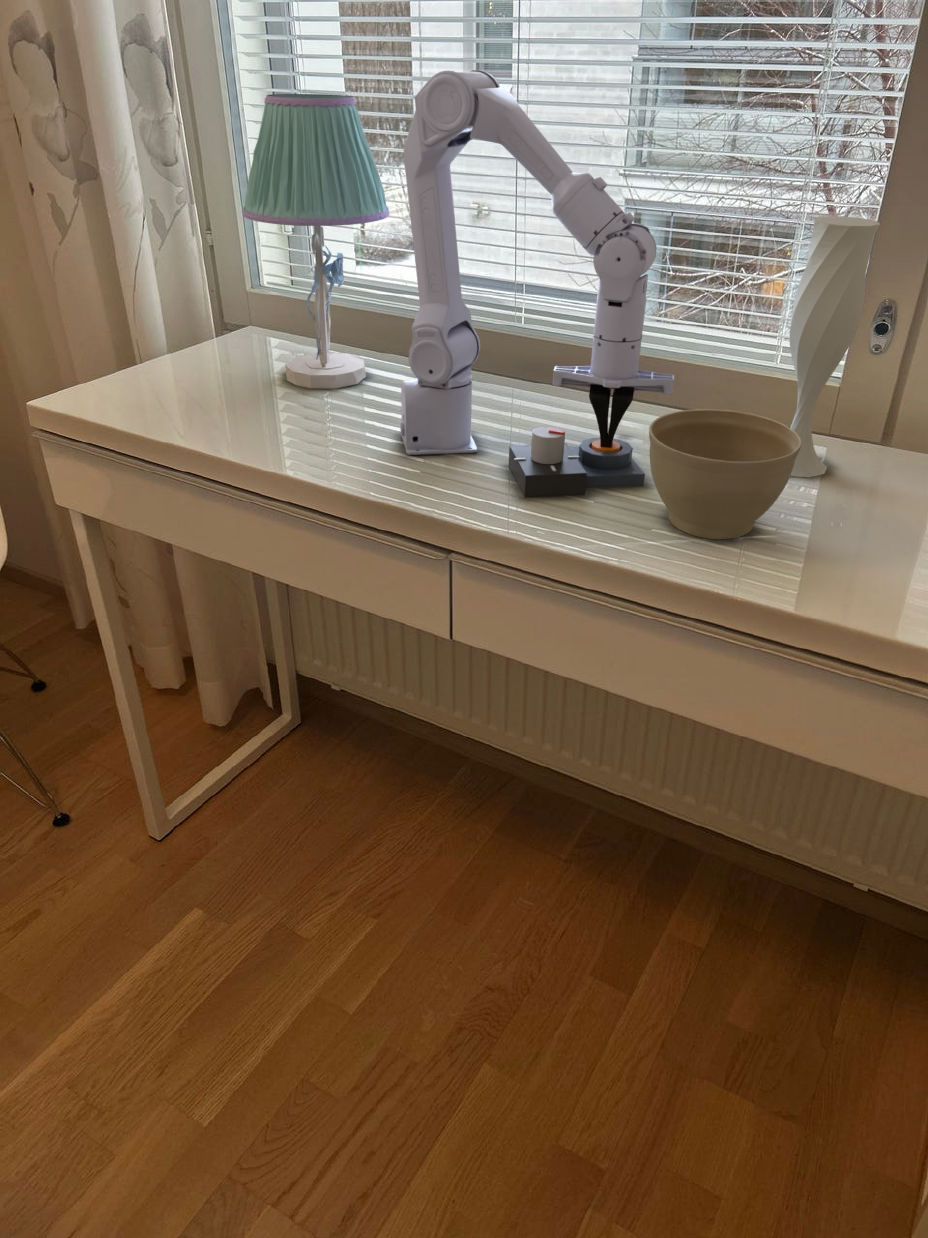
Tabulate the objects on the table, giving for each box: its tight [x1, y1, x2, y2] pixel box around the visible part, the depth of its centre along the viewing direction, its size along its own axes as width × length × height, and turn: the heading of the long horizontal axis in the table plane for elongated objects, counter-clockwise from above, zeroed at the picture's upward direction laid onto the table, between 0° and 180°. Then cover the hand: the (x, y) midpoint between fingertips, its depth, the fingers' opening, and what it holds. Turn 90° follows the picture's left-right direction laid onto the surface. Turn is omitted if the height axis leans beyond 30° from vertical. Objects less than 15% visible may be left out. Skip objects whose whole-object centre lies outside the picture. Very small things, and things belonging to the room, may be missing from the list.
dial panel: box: [507, 442, 587, 499], centre depth 117 cm, size 10×8×3 cm
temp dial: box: [531, 426, 566, 464], centre depth 115 cm, size 4×4×4 cm
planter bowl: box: [648, 408, 801, 540], centre depth 105 cm, size 16×16×11 cm
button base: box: [569, 437, 646, 489], centre depth 119 cm, size 10×8×4 cm
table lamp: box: [242, 93, 390, 390], centre depth 142 cm, size 22×22×40 cm
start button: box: [591, 440, 620, 453], centre depth 119 cm, size 4×4×2 cm
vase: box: [789, 215, 881, 478], centre depth 116 cm, size 9×8×30 cm
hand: (606, 444), depth 118 cm, fingers closed, pressing on start button
